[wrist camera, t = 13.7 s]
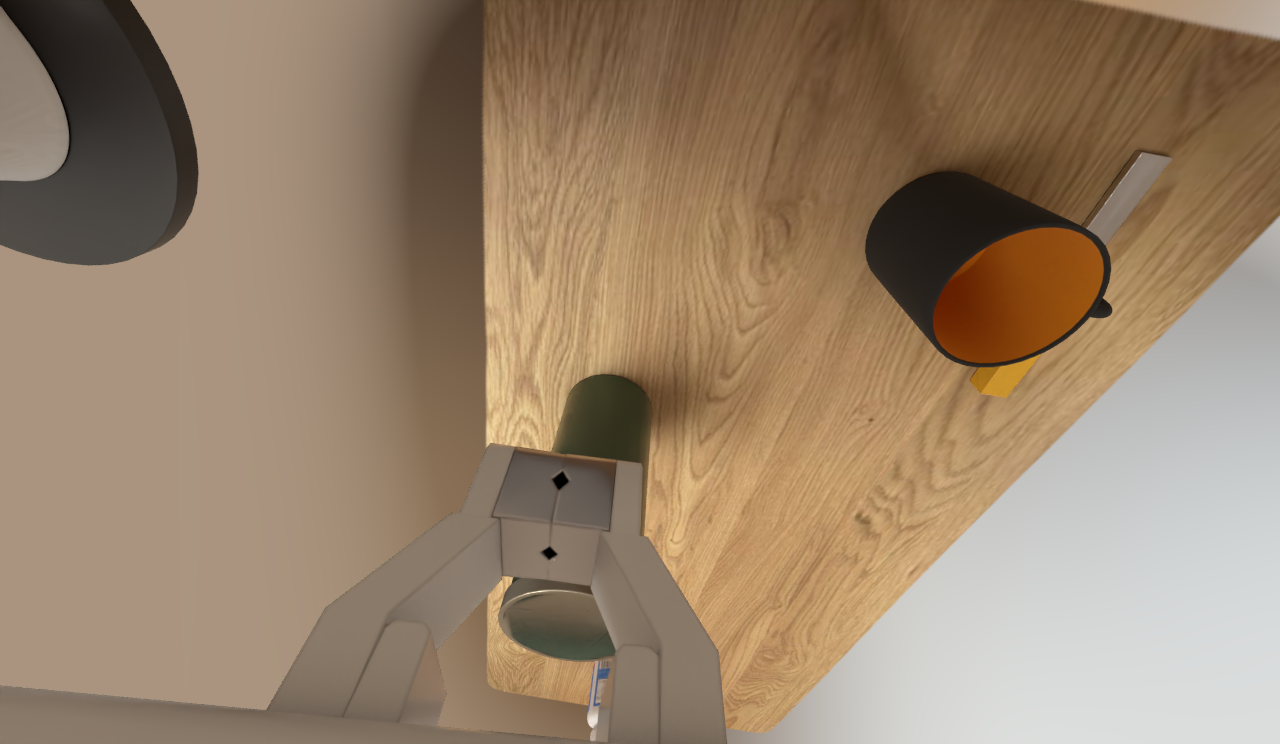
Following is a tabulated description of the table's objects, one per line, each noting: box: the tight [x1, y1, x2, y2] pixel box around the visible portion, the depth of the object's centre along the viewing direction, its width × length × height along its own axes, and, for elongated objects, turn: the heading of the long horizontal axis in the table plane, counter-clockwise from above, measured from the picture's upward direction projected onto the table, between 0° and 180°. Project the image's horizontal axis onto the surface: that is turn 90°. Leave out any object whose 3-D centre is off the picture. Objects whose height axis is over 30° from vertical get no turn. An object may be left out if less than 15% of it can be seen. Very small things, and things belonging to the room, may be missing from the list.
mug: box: [865, 172, 1112, 367], centre depth 28 cm, size 8×12×10 cm
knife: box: [970, 151, 1172, 398], centre depth 33 cm, size 18×2×2 cm, turn 171°
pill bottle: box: [587, 659, 613, 741], centre depth 70 cm, size 6×6×11 cm
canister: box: [498, 375, 652, 662], centre depth 35 cm, size 8×8×20 cm
